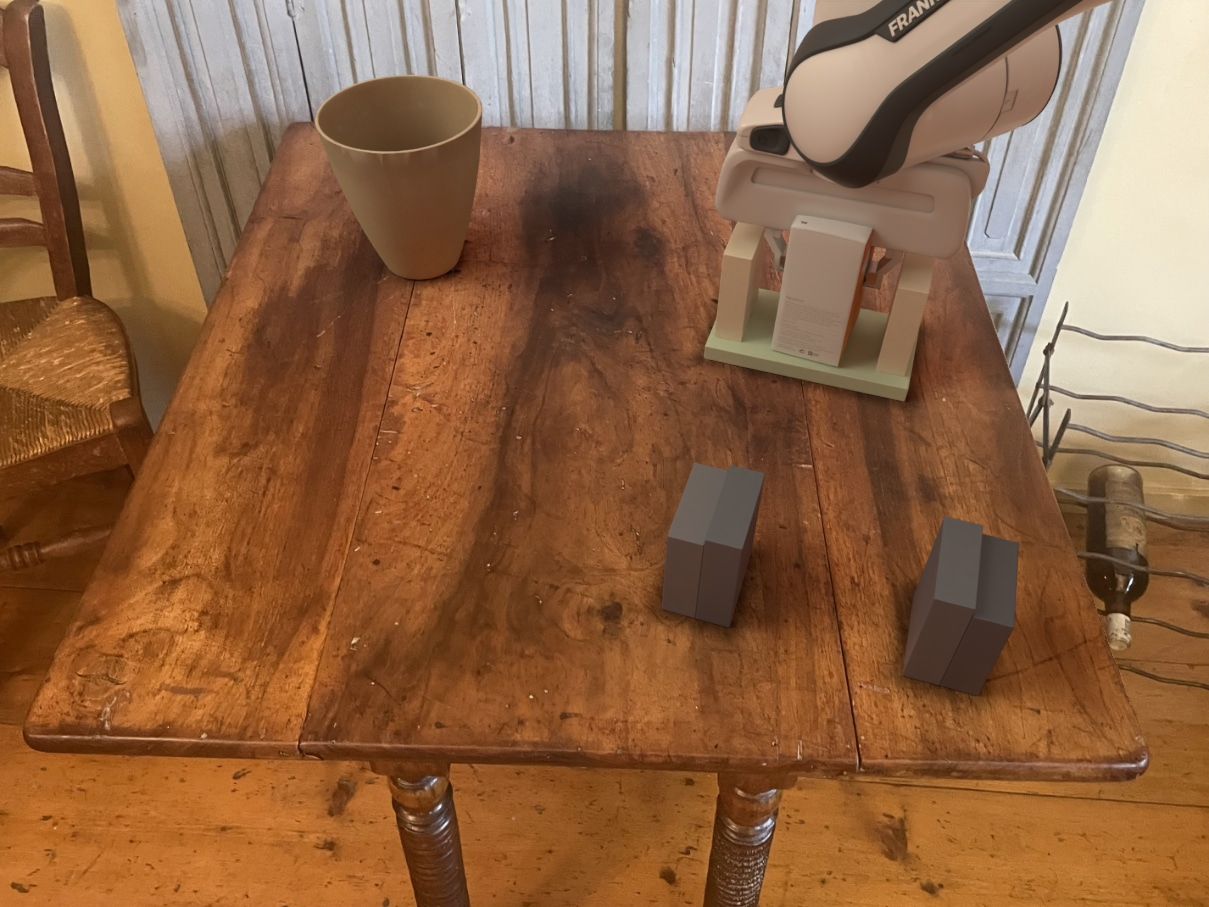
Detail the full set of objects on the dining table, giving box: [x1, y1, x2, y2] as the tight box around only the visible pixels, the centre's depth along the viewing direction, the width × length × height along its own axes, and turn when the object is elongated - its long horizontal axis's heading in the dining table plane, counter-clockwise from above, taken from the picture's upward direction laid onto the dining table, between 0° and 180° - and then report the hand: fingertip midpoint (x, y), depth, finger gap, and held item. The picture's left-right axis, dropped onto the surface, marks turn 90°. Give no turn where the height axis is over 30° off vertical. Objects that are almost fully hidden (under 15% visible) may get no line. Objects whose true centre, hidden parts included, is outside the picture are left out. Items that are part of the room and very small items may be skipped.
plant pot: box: [314, 74, 483, 281], centre depth 94 cm, size 15×15×16 cm
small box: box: [771, 215, 876, 367], centre depth 85 cm, size 8×6×13 cm
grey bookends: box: [661, 462, 1020, 697], centre depth 67 cm, size 22×7×9 cm, turn 72°
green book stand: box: [703, 222, 936, 403], centre depth 87 cm, size 18×10×10 cm, turn 72°
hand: (826, 275), depth 85 cm, fingers closed on small box, 6 cm apart
